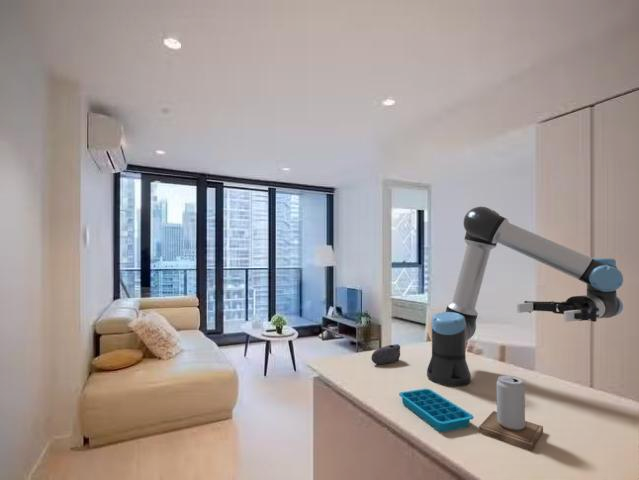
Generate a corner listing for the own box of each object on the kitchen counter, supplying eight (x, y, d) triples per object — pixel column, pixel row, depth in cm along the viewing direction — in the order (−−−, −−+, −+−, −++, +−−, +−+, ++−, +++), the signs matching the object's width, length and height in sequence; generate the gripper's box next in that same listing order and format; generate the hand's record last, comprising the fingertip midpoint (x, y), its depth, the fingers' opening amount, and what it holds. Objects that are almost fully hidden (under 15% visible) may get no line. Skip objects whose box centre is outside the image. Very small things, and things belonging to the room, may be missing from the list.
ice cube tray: (428, 397, 110) (428, 388, 110) (476, 428, 91) (476, 417, 91) (397, 402, 106) (397, 392, 106) (440, 436, 87) (440, 424, 87)
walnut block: (479, 432, 89) (479, 425, 89) (493, 416, 97) (493, 410, 97) (532, 451, 80) (532, 444, 80) (543, 432, 89) (543, 425, 89)
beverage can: (529, 433, 85) (528, 384, 85) (501, 430, 86) (501, 382, 87) (519, 420, 91) (518, 375, 92) (493, 418, 93) (493, 373, 93)
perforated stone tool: (375, 367, 137) (375, 350, 137) (367, 363, 142) (367, 346, 142) (404, 362, 144) (404, 345, 144) (396, 358, 148) (396, 342, 148)
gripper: (633, 328, 96) (589, 335, 87) (543, 312, 118) (501, 316, 110) (633, 301, 96) (589, 306, 87) (543, 291, 119) (501, 293, 110)
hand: (540, 312), depth 98 cm, fingers open, 13 cm apart
